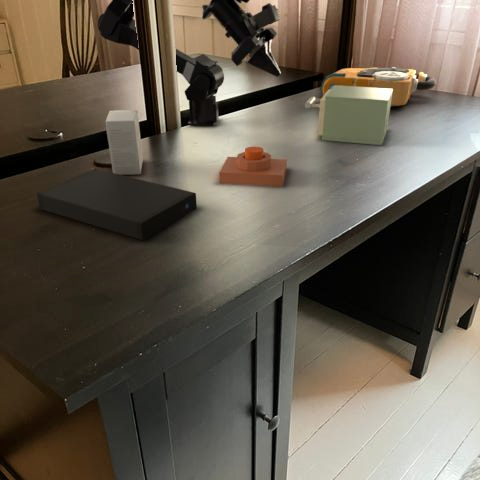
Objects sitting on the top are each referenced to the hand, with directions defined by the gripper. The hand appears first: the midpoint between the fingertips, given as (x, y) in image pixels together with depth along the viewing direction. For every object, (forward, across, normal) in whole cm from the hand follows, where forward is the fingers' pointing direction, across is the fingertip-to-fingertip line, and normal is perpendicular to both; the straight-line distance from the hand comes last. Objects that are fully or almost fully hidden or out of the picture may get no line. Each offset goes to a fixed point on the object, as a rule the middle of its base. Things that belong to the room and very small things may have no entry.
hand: (279, 75), depth 124 cm
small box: (-7, -36, +24) cm, 44 cm away
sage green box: (+22, 0, -5) cm, 23 cm away
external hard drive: (-1, -55, +19) cm, 58 cm away
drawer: (+19, 0, -3) cm, 19 cm away
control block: (+11, -33, +6) cm, 35 cm away
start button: (+9, -33, +3) cm, 34 cm away
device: (+23, +37, -5) cm, 44 cm away
